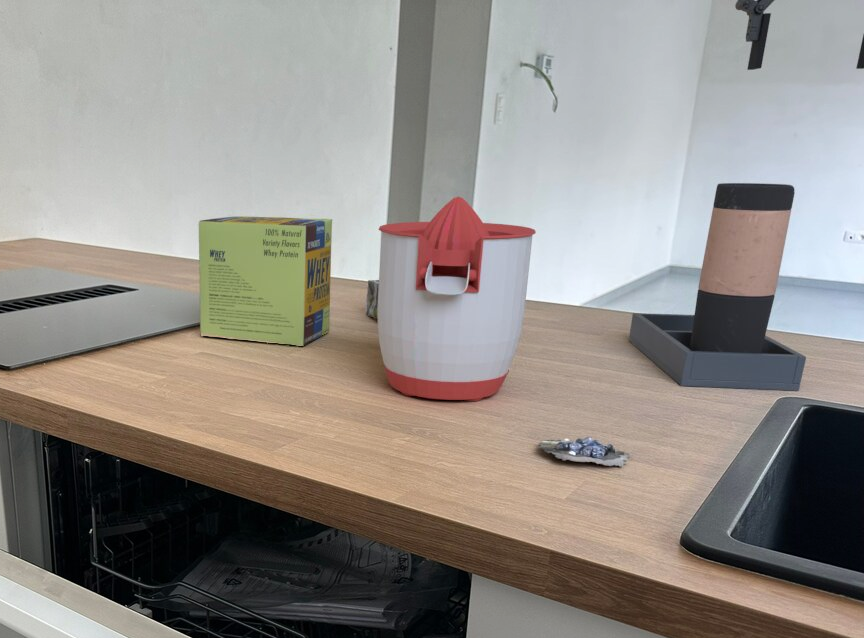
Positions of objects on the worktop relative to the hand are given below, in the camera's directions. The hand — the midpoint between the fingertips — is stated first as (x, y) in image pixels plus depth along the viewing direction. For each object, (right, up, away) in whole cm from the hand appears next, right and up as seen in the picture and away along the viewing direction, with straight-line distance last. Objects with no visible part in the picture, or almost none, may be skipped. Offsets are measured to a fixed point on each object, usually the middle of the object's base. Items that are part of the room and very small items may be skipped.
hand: (808, 68), depth 114 cm
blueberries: (-45, -51, -41) cm, 79 cm away
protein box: (-72, -35, +5) cm, 80 cm away
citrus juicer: (-53, -44, -21) cm, 72 cm away
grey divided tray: (-19, -40, -9) cm, 45 cm away
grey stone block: (-50, -32, +12) cm, 61 cm away
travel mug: (-19, -41, -15) cm, 48 cm away
